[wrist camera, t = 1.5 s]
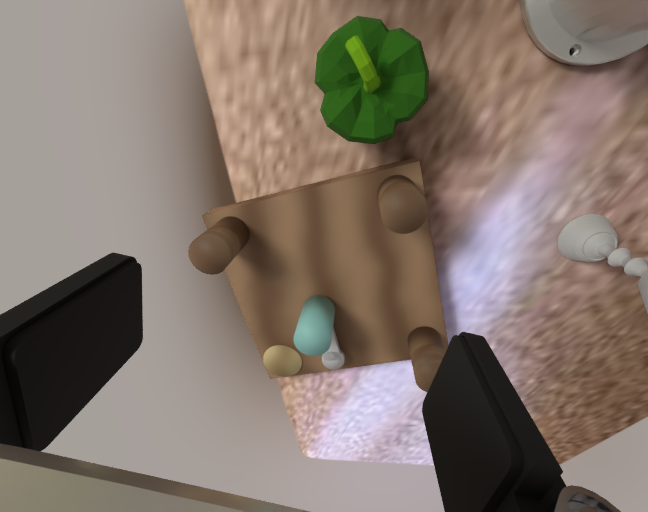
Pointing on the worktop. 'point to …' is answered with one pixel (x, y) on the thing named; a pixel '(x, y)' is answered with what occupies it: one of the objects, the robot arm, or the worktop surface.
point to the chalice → (601, 247)
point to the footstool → (335, 269)
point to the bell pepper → (370, 79)
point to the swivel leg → (319, 332)
